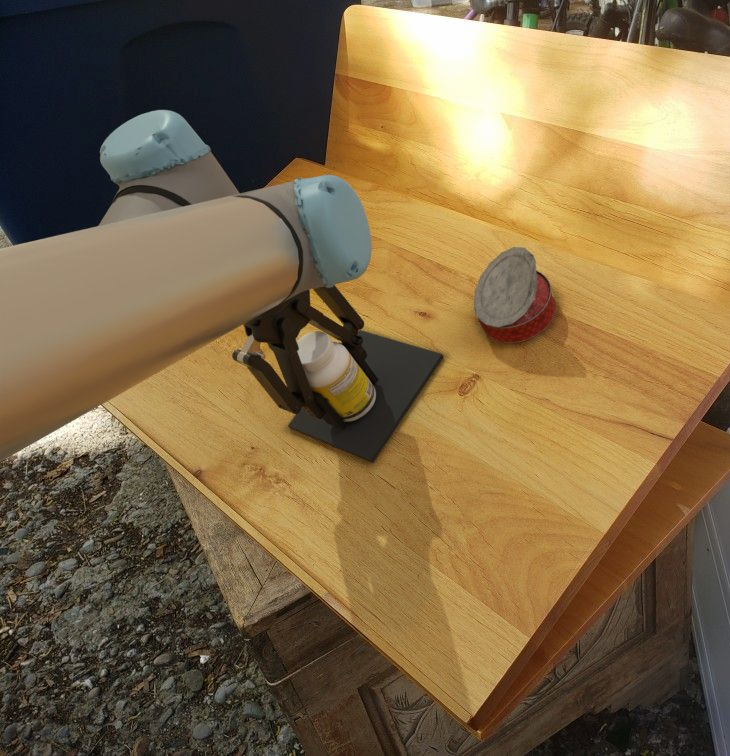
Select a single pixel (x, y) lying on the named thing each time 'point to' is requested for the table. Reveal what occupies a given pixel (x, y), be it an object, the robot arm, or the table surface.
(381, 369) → the mat
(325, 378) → the pill bottle
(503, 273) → the canned food
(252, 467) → the table surface
